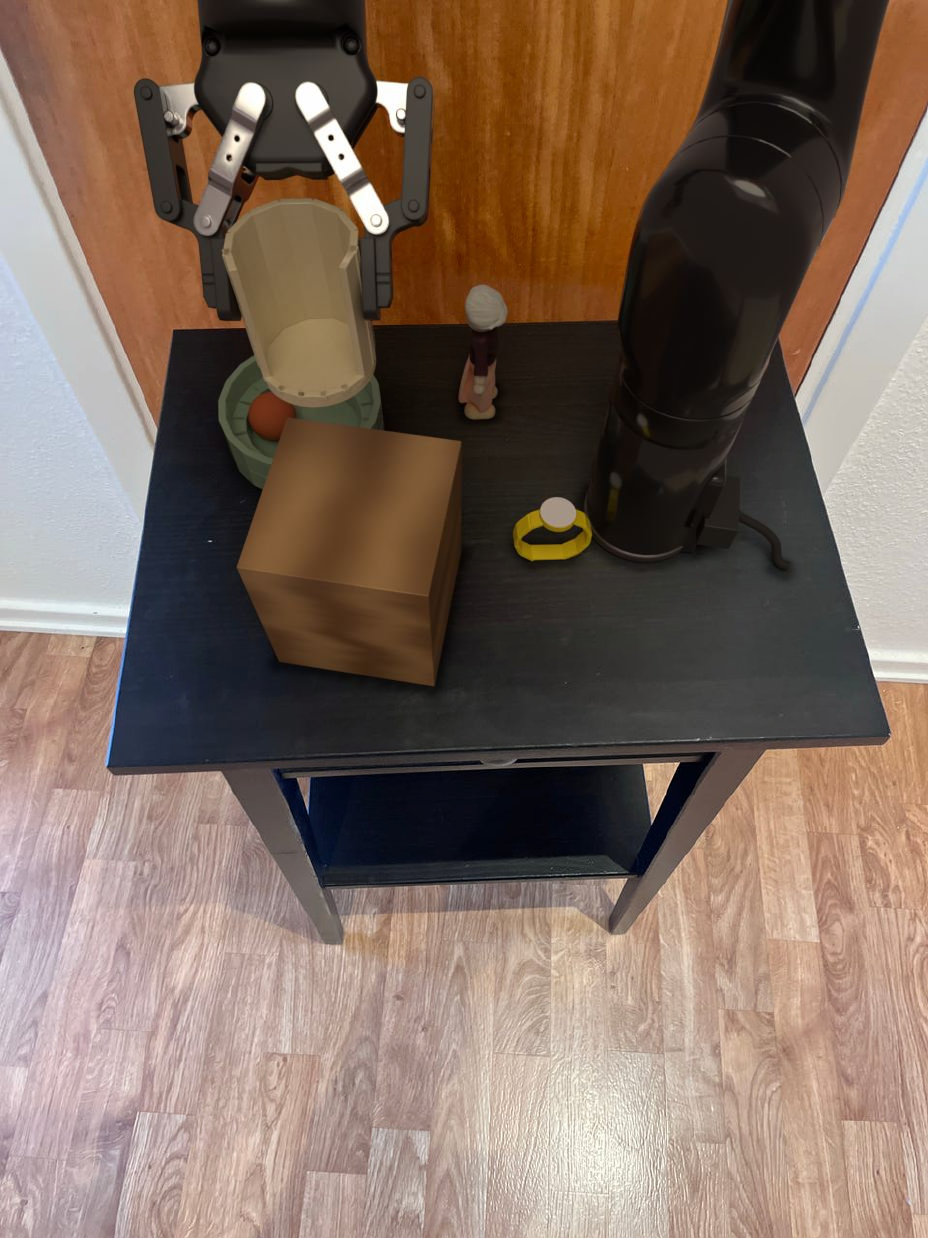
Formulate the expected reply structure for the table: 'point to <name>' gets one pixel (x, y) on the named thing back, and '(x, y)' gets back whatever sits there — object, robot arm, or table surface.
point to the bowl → (259, 452)
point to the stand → (357, 549)
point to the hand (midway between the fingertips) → (301, 319)
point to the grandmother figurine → (482, 351)
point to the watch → (558, 519)
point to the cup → (302, 299)
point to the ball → (269, 415)
